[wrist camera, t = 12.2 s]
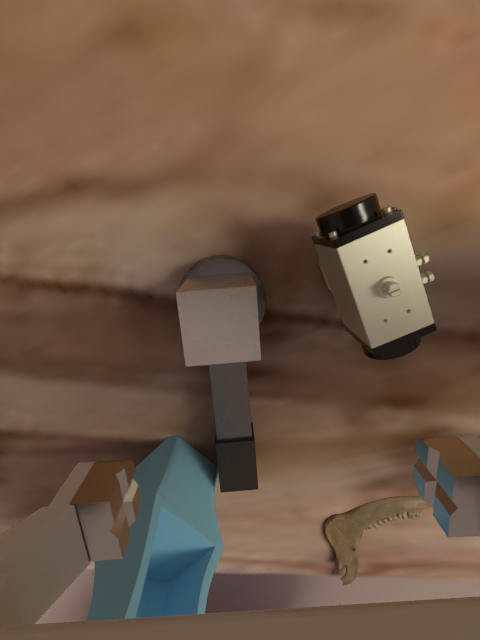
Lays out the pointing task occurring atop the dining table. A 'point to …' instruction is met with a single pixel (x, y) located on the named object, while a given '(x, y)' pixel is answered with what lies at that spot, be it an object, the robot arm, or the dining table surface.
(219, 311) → the beige rectangular block
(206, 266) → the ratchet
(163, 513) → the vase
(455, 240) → the dining table surface
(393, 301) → the pneumatic valve
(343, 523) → the jawbone
